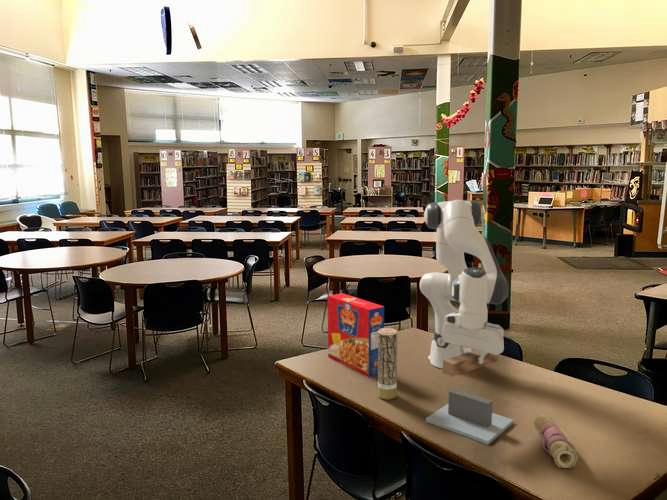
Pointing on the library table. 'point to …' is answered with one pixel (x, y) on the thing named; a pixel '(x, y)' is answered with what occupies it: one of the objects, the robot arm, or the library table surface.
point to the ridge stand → (470, 417)
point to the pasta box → (354, 332)
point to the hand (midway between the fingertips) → (471, 360)
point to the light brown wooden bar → (466, 362)
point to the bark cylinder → (387, 363)
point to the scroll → (555, 442)
